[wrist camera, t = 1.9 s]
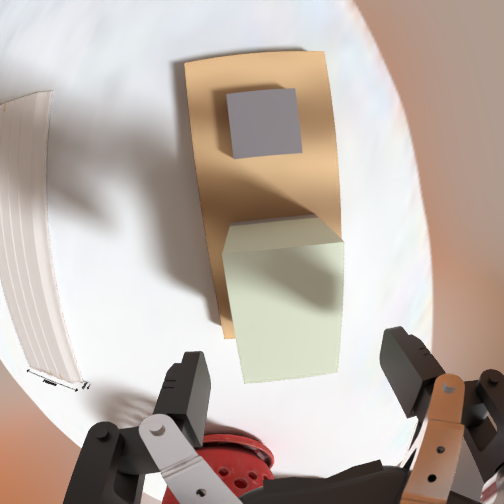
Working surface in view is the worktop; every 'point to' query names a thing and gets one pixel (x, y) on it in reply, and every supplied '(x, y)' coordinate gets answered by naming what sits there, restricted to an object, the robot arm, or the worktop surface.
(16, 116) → the baseboard
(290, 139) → the gray square tile
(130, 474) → the robot arm
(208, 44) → the worktop surface
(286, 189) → the oak board
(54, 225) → the worktop surface
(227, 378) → the worktop surface
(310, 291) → the block
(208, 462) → the plant pot
